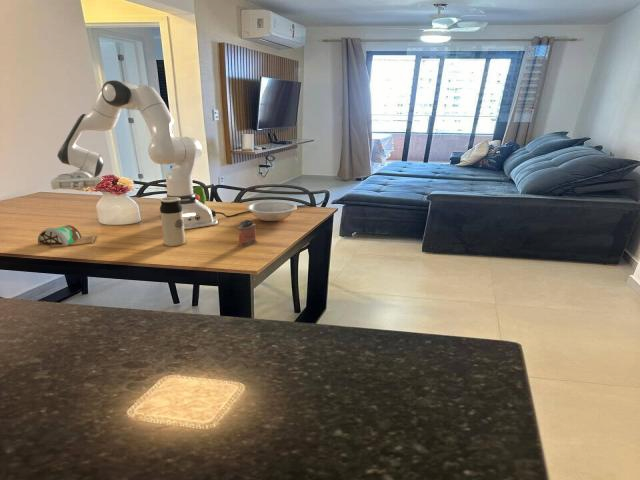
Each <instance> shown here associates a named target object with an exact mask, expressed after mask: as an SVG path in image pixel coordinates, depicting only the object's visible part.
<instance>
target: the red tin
mask: <svg viewBox="0 0 640 480" xmlns="http://www.w3.org/2000/svg"><path fill="white" fill-rule="evenodd" d="M239 225H240V226H238V227H237V230H238V246H239V247H247V246H250V245H251V246H252V245H253V244H256V243H257V239H256V223H253V219H252V218H250V219H248V218H245V219H244V220H240V221H239Z"/></svg>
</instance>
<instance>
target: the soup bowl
mask: <svg viewBox="0 0 640 480" xmlns="http://www.w3.org/2000/svg"><path fill="white" fill-rule="evenodd" d="M297 206H298V205H296V204H294V203H292V202H288V201H281V200H280V201H279V200H265V201H258V202H253V203H251V204H248V205H247V207H246V209H247V211H251V212H250V213H251V214H252V215H253V216H254V217H255V218H256V219H258V220H261V221H264V222H278V221H283V220H286V219H288V218H289V217H290V216H291V215H292V213H293V212H294V211H295V210H297V208H298V207H297Z"/></svg>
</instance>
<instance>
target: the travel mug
mask: <svg viewBox="0 0 640 480" xmlns="http://www.w3.org/2000/svg"><path fill="white" fill-rule="evenodd" d="M180 200H181V199H180V198H179V197H167V196H166V197H165V196H164V197H162V198H159V202H160V204H161V205H160V207H159V213H160V220H161V228H162V229H161V230H162V239H163V245H166V246H168V247H177V246H181V245H183V244H185V243H186V234H185V229H184V222H183V212H182V206H181V204H180Z"/></svg>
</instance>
